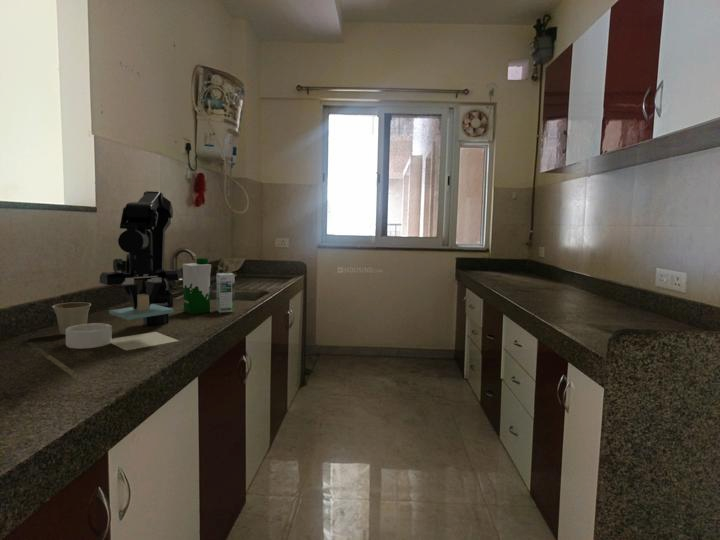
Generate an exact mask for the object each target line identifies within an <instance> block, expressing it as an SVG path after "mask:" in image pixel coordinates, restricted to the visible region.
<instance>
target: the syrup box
mask: <svg viewBox="0 0 720 540" xmlns="http://www.w3.org/2000/svg"><path fill="white" fill-rule="evenodd" d="M235 276H236V275H235V273H234V272H221V273H220V272H218V273H216V311H217V312H218V313H219V314H222V313H235V311H236V309H235V308H236V307H235V306H236V305H235V304H236V303H235V301H236V300H235V299H236V298H235V293H236V292H235V290H236V289H235V284H236V283H235V279H236V277H235Z"/></svg>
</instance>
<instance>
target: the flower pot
mask: <svg viewBox="0 0 720 540" xmlns="http://www.w3.org/2000/svg"><path fill="white" fill-rule="evenodd" d="M91 306H92V303H91V302H83V301H81V302H78V301H77V302H76V301H75V302H65V303H63V302H62V303H57V304H54V305H52V309H53V311H54V313H55V314H56V320H57V325H58V326H57V327H58V330H59V335H66V332H65V329H67V328H68V327H71V326H75V325H81V324H88V319H89V318H88V315H89V311H90V308H91Z"/></svg>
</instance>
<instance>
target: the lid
mask: <svg viewBox="0 0 720 540" xmlns="http://www.w3.org/2000/svg"><path fill="white" fill-rule="evenodd" d="M108 313H109V315H112V316H114V317H118V318H120V319H123V320H127V321H129V320H138V319H143V318H144V317H150V316H156V315H162V314H173V313H175V310H174V308H173V307H170V308H168V307H164V306H159V305H155V304H151V305H150V307H149V295H147V294H140V293H139V294H137V309H133V306H130V307H123V308H117V309H110V310H108Z"/></svg>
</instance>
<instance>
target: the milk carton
mask: <svg viewBox="0 0 720 540" xmlns="http://www.w3.org/2000/svg"><path fill="white" fill-rule="evenodd" d="M211 271H212V264H210V263H209V258H206V257H198V258H196V262H195V263H194V262H193V263H191V262H189V263H182V273H183V274H182V279H183V282H182V287H183V297H182V299H183V312H184V313H186V314H189V315H199V314H198V313H201V314H207V313H206V312H210V313H211Z"/></svg>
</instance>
